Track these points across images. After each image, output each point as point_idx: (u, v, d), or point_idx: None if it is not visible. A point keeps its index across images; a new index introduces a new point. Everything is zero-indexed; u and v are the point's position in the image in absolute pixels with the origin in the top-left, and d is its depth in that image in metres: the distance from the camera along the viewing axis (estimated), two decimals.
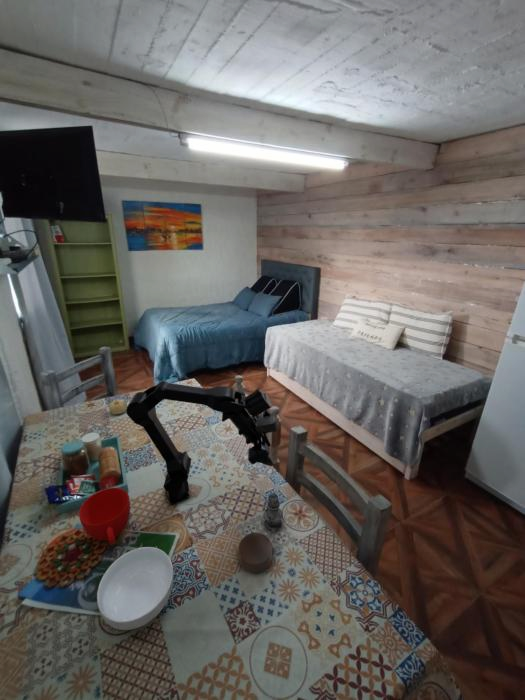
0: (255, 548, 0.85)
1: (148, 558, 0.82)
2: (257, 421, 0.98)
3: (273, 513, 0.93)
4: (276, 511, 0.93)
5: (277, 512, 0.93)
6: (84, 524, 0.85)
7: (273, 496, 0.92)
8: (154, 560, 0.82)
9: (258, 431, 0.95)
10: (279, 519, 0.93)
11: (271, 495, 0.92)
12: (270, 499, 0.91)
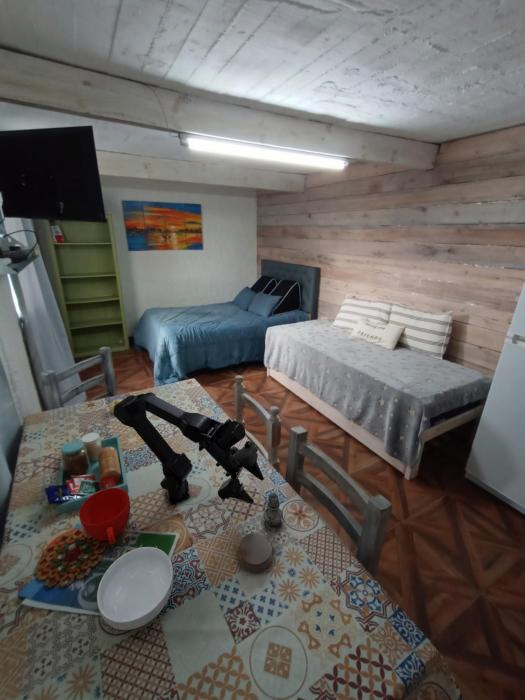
0: (255, 548, 0.85)
1: (148, 558, 0.82)
2: (235, 453, 0.91)
3: (273, 513, 0.93)
4: (276, 511, 0.93)
5: (277, 512, 0.93)
6: (84, 524, 0.85)
7: (273, 496, 0.92)
8: (154, 560, 0.82)
9: (232, 464, 0.89)
10: (279, 519, 0.93)
11: (271, 495, 0.92)
12: (270, 499, 0.91)
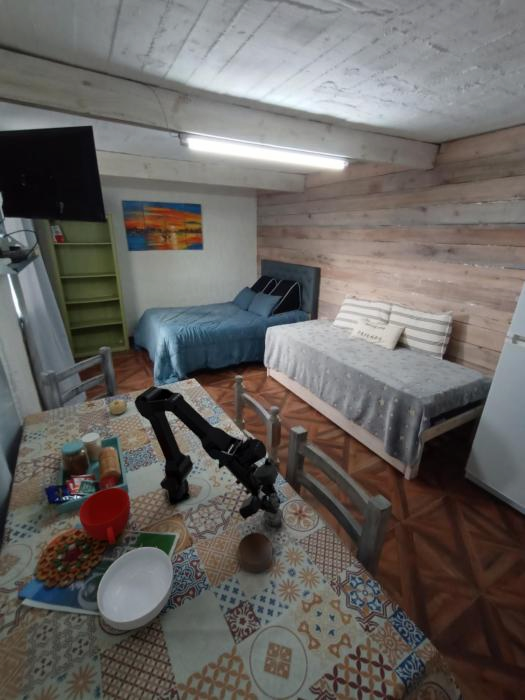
0: (255, 548, 0.85)
1: (148, 558, 0.82)
2: (256, 470, 0.91)
3: None
4: None
5: (277, 512, 0.93)
6: (84, 524, 0.85)
7: (273, 496, 0.92)
8: (154, 560, 0.82)
9: (253, 482, 0.89)
10: (279, 519, 0.93)
11: (271, 495, 0.92)
12: (270, 499, 0.91)
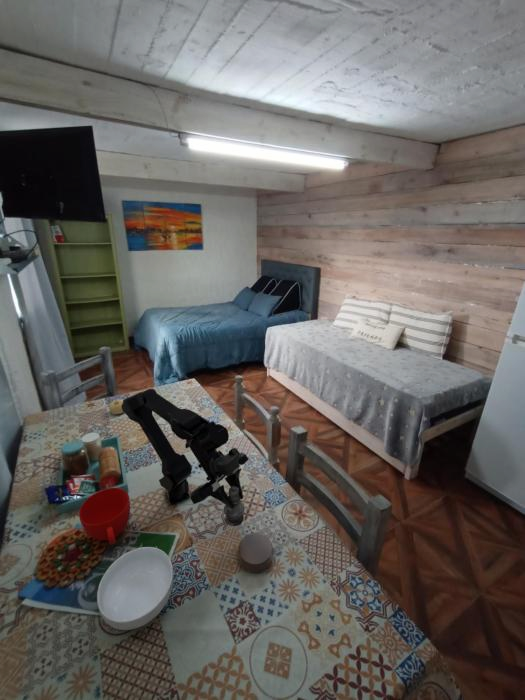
0: (255, 548, 0.85)
1: (148, 558, 0.82)
2: (218, 458, 0.86)
3: None
4: (235, 506, 0.86)
5: (236, 508, 0.86)
6: (84, 524, 0.85)
7: (232, 489, 0.85)
8: (154, 560, 0.82)
9: (211, 469, 0.84)
10: (237, 515, 0.86)
11: (231, 488, 0.86)
12: (229, 491, 0.85)
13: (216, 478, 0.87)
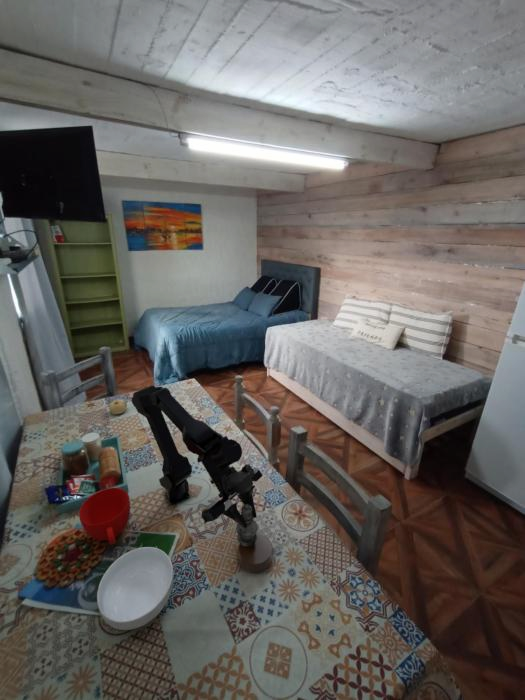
0: (255, 548, 0.85)
1: (148, 558, 0.82)
2: (231, 474, 0.83)
3: None
4: (248, 525, 0.82)
5: (249, 527, 0.83)
6: (84, 524, 0.85)
7: (245, 507, 0.82)
8: (154, 560, 0.82)
9: (223, 486, 0.81)
10: (250, 535, 0.82)
11: (244, 506, 0.82)
12: (242, 510, 0.82)
13: (228, 495, 0.84)
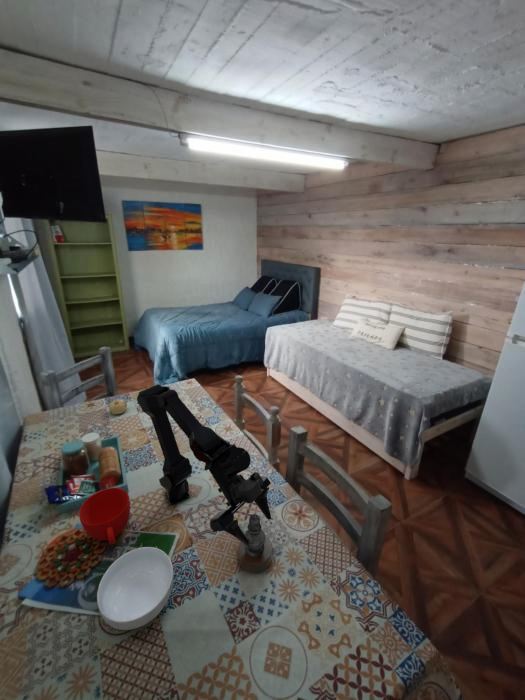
0: None
1: (148, 558, 0.82)
2: (239, 482, 0.82)
3: (252, 537, 0.82)
4: (256, 535, 0.82)
5: (256, 537, 0.82)
6: (84, 524, 0.85)
7: (253, 517, 0.81)
8: (154, 560, 0.82)
9: (232, 495, 0.79)
10: (258, 545, 0.81)
11: (252, 516, 0.81)
12: (249, 520, 0.81)
13: None
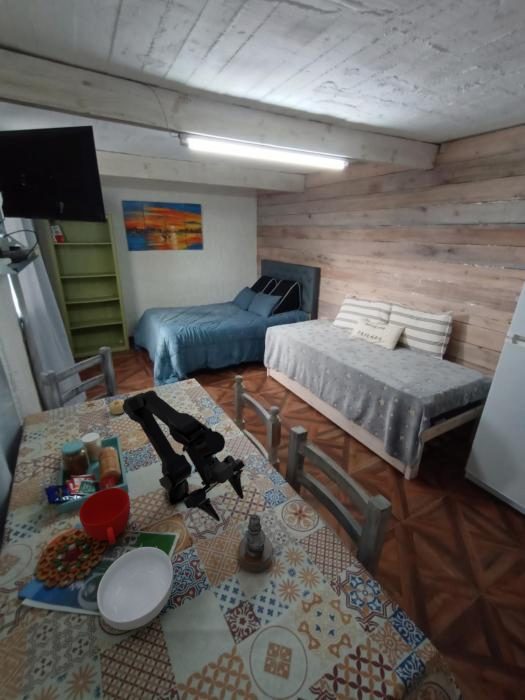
0: None
1: (148, 558, 0.82)
2: (214, 464, 0.87)
3: (252, 537, 0.82)
4: (256, 535, 0.82)
5: (256, 537, 0.82)
6: (84, 524, 0.85)
7: (253, 517, 0.81)
8: (154, 560, 0.82)
9: (206, 475, 0.85)
10: (258, 545, 0.81)
11: (252, 516, 0.81)
12: (249, 520, 0.81)
13: None
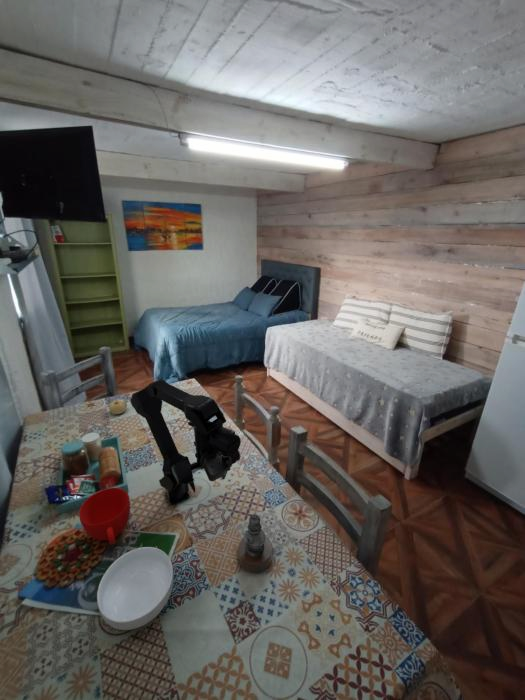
0: None
1: (148, 558, 0.82)
2: (212, 454, 0.86)
3: (252, 537, 0.82)
4: (256, 535, 0.82)
5: (256, 537, 0.82)
6: (84, 524, 0.85)
7: (253, 517, 0.81)
8: (154, 560, 0.82)
9: (200, 461, 0.85)
10: (258, 545, 0.81)
11: (252, 516, 0.81)
12: (249, 520, 0.81)
13: None
